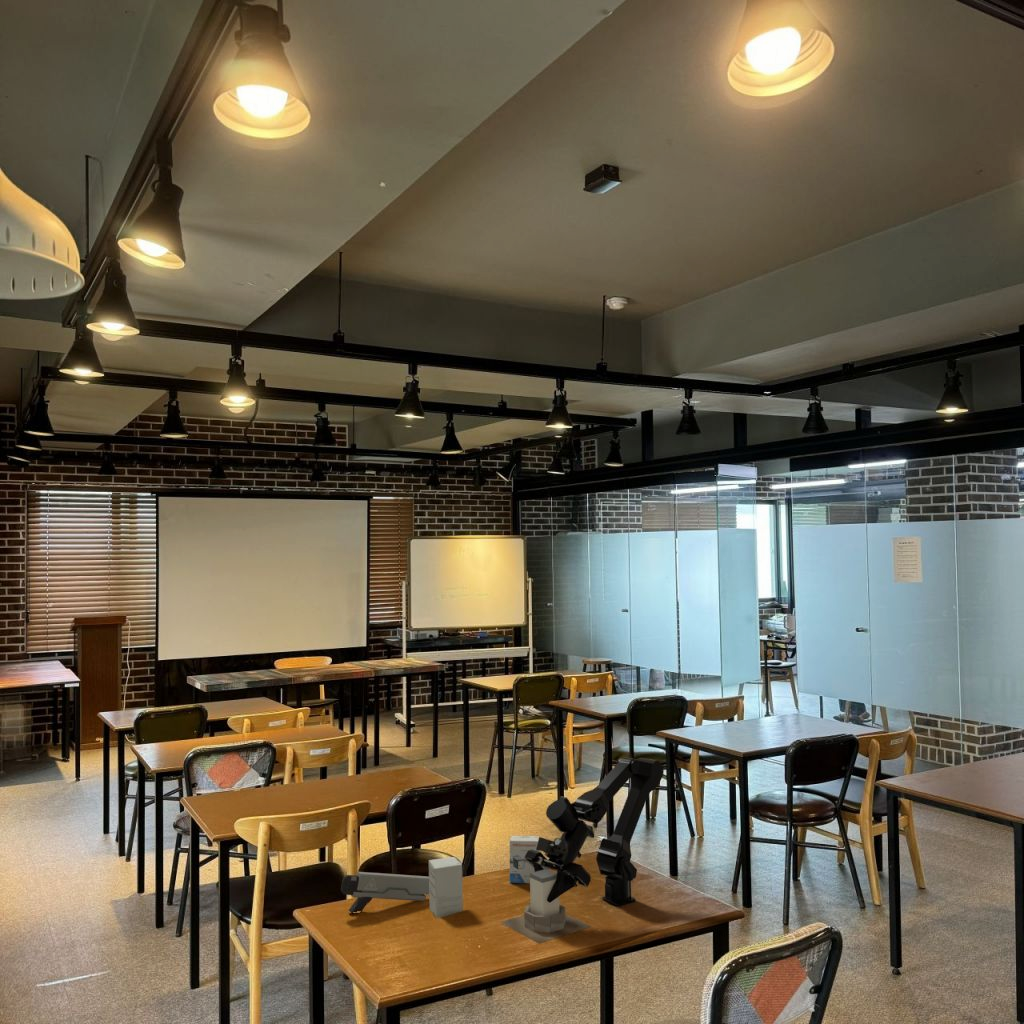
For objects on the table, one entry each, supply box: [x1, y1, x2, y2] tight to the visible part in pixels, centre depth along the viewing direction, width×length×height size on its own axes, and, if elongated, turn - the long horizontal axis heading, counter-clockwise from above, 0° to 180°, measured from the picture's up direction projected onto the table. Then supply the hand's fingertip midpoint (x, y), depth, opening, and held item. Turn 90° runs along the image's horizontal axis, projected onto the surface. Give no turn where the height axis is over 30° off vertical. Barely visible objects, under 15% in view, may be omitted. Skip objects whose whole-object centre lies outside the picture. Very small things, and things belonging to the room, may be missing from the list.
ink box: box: [509, 835, 541, 884], centre depth 250 cm, size 9×5×12 cm, turn 84°
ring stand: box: [499, 904, 592, 944], centre depth 215 cm, size 16×16×5 cm
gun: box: [340, 871, 429, 913], centre depth 232 cm, size 2×25×10 cm, turn 117°
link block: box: [529, 869, 560, 916], centre depth 215 cm, size 5×5×12 cm
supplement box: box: [428, 856, 464, 919], centre depth 228 cm, size 7×7×13 cm
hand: (540, 898), depth 215 cm, fingers closed on link block, 5 cm apart
